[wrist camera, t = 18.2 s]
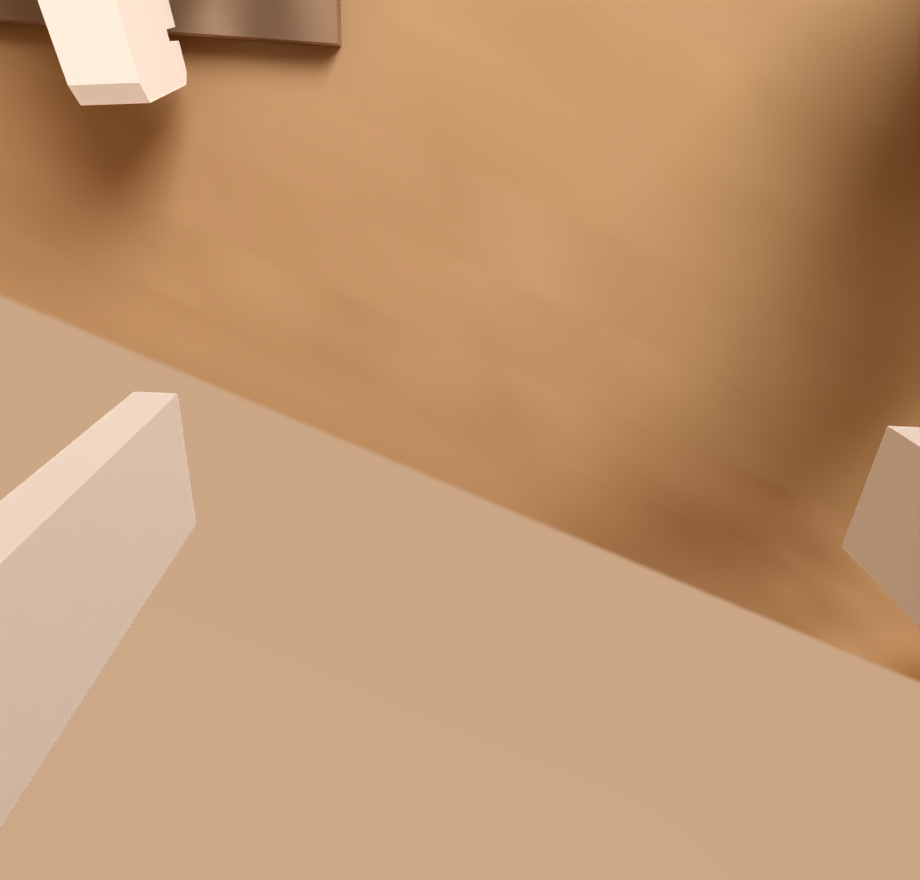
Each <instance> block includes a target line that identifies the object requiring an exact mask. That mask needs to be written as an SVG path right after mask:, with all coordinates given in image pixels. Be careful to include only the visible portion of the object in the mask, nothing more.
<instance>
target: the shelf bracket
mask: <svg viewBox="0 0 920 880" xmlns="http://www.w3.org/2000/svg"><path fill="white" fill-rule="evenodd" d="M38 3H39V6H40V9H41V11H42V14H43V17H44V20H45V23H46V26H47V28H48V31H49V34H50V37H51V40H52V42H53V45H54V48H55V51H56V54H57V56H58V59H59V62H60V65H61V68H62V70H63V73H64V76H65V79H66V82H67V85H68V86H69V88H70V90H71V91H72V93H73V94H74V96H75V97H76V99H77V100H78V102H79V104H80V105H81V106H82V105H109V104H136V103H151V102H153V101H155V100H157V99H159V98H161V97H163V96H165V95H167V94H169V93H171V92H173V91H175V90H177V89H179V88H181V87H183V86H185V85H186V76H187V71H186V67H185V63H184V59H183V55H182V51H181V47H180V44H179V41H169V37H168V33H167V29H170V28H173V27H175V24H174V20H173V16H172V12H171V8H170V4H169V0H38Z"/></svg>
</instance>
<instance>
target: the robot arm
mask: <svg viewBox="0 0 920 880" xmlns="http://www.w3.org/2000/svg"><path fill="white" fill-rule="evenodd" d="M195 525H196V519H195V512H194V505H193V499H192V491H191V485H190V478H189V470H188V463H187V456H186V449H185V442H184V435H183V428H182V421H181V414H180V407H179V400H178V394H174V393H153V392H133V393H132V394H130V395H129V396H128V397H127V398H126V399H124V400H123V401H122V402H121V403H119V404H118V405H117V406H116V407H114V408H113V409H112V410H111V411H110V412H108V413H107V414H106V415H105V416H103V417H102V418H101V419H100V420H99V421H97V422H96V423H95V424H94V425H92V426H91V427H90V428H89V429H88V430H86V431H85V432H84V433H83V434H81V435H80V436H79V437H78V438H77V439H75V440H74V441H73V442H72V443H70V444H69V445H68V446H67V447H65V448H64V449H63V450H62V451H61V452H59V453H58V454H57V455H56V456H54V457H53V458H52V459H51V460H50V461H48V462H47V463H46V464H45V465H44V466H42V467H41V468H40V469H39V470H37V471H36V472H35V473H34V474H32V475H31V476H30V477H29V478H28V479H26V480H25V481H24V482H23V483H21V484H20V485H19V486H18V487H17V488H15V489H14V490H13V491H12V492H10V493H9V494H8V495H7V496H6V497H5V498H3V499H2V500H1V501H0V829H1V827H2V826H3V824H4V822H5V821H6V819H7V818H8V816H9V814H10V813H11V812H12V810H13V808H14V807H15V805H16V804H17V802H18V801H19V799H20V798H21V796H22V794H23V793H24V791H25V790H26V788H27V787H28V785H29V784H30V782H31V780H32V779H33V777H34V776H35V774H36V772H37V771H38V770H39V768H40V766H41V765H42V763H43V762H44V760H45V759H46V757H47V755H48V754H49V752H50V751H51V749H52V748H53V746H54V744H55V743H56V741H57V740H58V738H59V737H60V735H61V734H62V732H63V731H64V729H65V727H66V726H67V724H68V723H69V721H70V719H71V718H72V717H73V715H74V713H75V712H76V710H77V709H78V707H79V706H80V704H81V703H82V701H83V699H84V698H85V696H86V695H87V693H88V692H89V690H90V689H91V687H92V685H93V684H94V682H95V681H96V679H97V678H98V676H99V674H100V673H101V671H102V670H103V668H104V667H105V665H106V663H107V662H108V660H109V659H110V657H111V656H112V654H113V653H114V651H115V649H116V648H117V646H118V645H119V643H120V642H121V640H122V639H123V637H124V636H125V634H126V632H127V631H128V629H129V628H130V626H131V625H132V623H133V621H134V620H135V618H136V617H137V615H138V614H139V612H140V611H141V609H142V607H143V606H144V604H145V603H146V601H147V600H148V598H149V597H150V595H151V593H152V592H153V590H154V589H155V587H156V586H157V584H158V583H159V581H160V579H161V578H162V576H163V575H164V573H165V571H166V570H167V569H168V567H169V565H170V564H171V562H172V561H173V559H174V558H175V556H176V555H177V553H178V551H179V550H180V548H181V547H182V545H183V544H184V542H185V541H186V539H187V537H188V536H189V534H190V533H191V531H192V530H193V528H194V527H195ZM841 548H842V549H843V550H844V551H845V552H846V553H847V554H848V555H849V556H850V557H851V558H852V559H853V560H854V561H855V562H856V563H857V564H858V565H859V566H860V567H861V568H862V569H863V570H864V571H865V572H866V573H867V574H868V575H869V576H870V577H871V578H872V579H873V580H874V582H875V583H876V584H877V585H878V586H879V587H880V588H881V589H882V590H883V591H884V592H885V593H886V594H887V595H888V596H889V597H890V598H891V599H892V600H893V601H894V602H895V603H896V604H897V605H898V606H899V607H900V608H901V609H902V610H903V611H904V612H905V613H906V614H907V615H908V616H909V618H910V619H911V620H912V621H913V622H914V623H915V624H916V625H917V626H918V627H919V628H920V427H904V426H887V428H886V430H885V433H884V436H883V438H882V441H881V444H880V446H879V449H878V451H877V454H876V457H875V459H874V462H873V465H872V467H871V470H870V472H869V475H868V478H867V480H866V483H865V485H864V488H863V491H862V493H861V496H860V499H859V501H858V504H857V506H856V509H855V512H854V514H853V517H852V520H851V522H850V525H849V527H848V530H847V533H846V535H845V538H844V540H843V543H842V546H841Z"/></svg>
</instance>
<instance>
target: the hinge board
mask: <svg viewBox="0 0 920 880" xmlns="http://www.w3.org/2000/svg"><path fill="white" fill-rule="evenodd" d="M169 4H170V8H171V12H172V16H173V20H174V24H175V27H173V28H170V29H167V33H168V35H180V36H194V37H208V38H222V39H236V40H250V41H264V42H279V43H293V44H307V45H321V46H335V47H341V9H340V0H169ZM0 23H11V24H25V25H39V26H46V23H45V20H44V17H43V14H42V11H41V9H40V6H39V3H38V0H0Z"/></svg>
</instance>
